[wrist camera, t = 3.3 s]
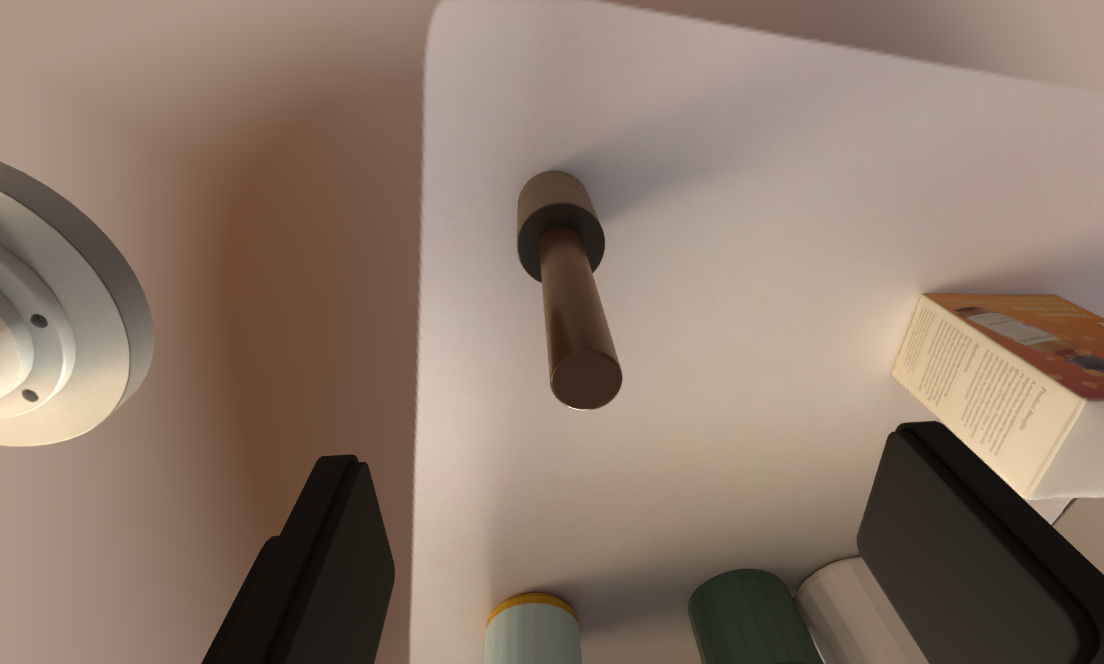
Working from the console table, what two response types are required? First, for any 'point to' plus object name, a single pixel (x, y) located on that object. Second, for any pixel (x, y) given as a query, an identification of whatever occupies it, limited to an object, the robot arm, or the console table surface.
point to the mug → (853, 617)
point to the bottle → (532, 632)
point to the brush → (569, 287)
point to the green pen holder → (749, 621)
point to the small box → (1014, 385)
